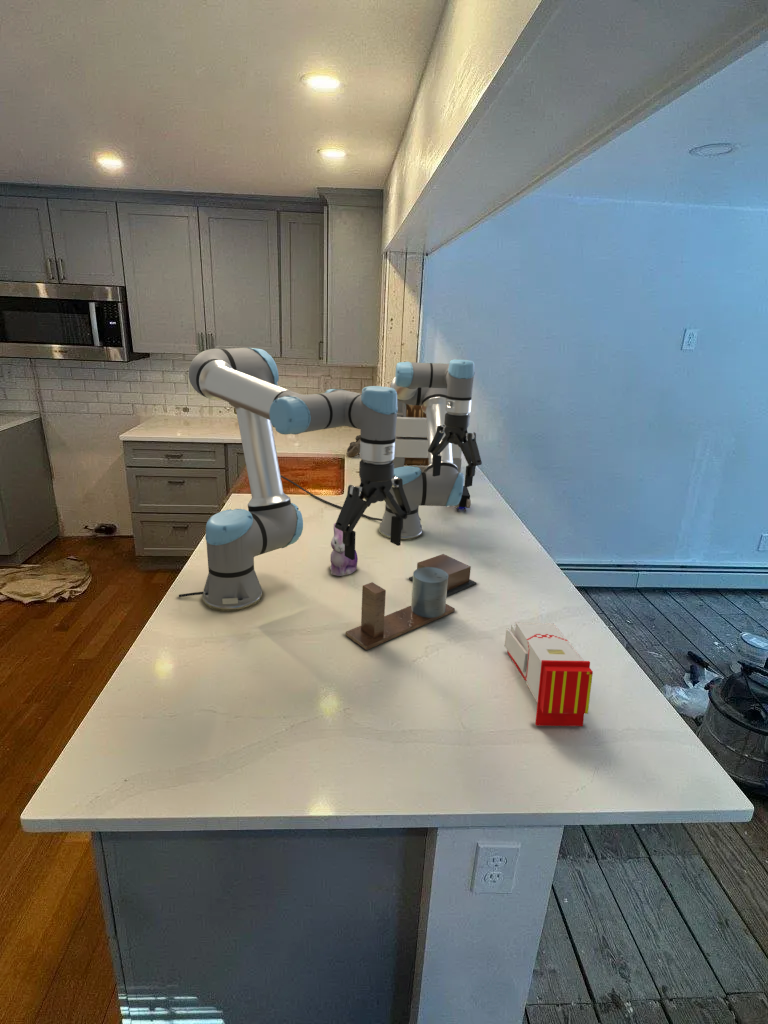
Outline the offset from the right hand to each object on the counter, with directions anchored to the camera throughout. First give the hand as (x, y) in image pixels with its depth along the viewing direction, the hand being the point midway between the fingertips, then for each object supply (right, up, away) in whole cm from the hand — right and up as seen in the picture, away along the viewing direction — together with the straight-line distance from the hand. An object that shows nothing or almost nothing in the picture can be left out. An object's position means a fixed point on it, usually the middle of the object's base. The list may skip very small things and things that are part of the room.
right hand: (451, 480), depth 177 cm
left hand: (-24, -18, -48) cm, 57 cm away
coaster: (-4, -30, -11) cm, 33 cm away
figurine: (-33, -27, -7) cm, 44 cm away
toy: (+12, -47, -55) cm, 73 cm away
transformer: (-4, +9, +97) cm, 98 cm away
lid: (-4, -30, -12) cm, 32 cm away
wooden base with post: (-17, -38, -34) cm, 54 cm away
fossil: (-35, +22, +129) cm, 136 cm away
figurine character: (+10, -8, +52) cm, 53 cm away
